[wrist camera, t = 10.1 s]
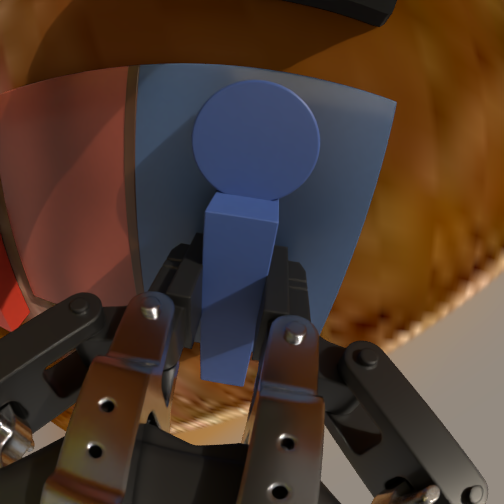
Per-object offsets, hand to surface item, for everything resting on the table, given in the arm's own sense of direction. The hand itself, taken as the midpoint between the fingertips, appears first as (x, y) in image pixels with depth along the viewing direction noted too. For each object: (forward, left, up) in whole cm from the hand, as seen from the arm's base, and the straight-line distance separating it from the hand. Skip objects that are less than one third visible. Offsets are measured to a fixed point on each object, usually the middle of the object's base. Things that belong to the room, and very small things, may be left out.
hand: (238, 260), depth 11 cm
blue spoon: (0, 0, 0) cm, 1 cm away
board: (-5, 0, -1) cm, 5 cm away
